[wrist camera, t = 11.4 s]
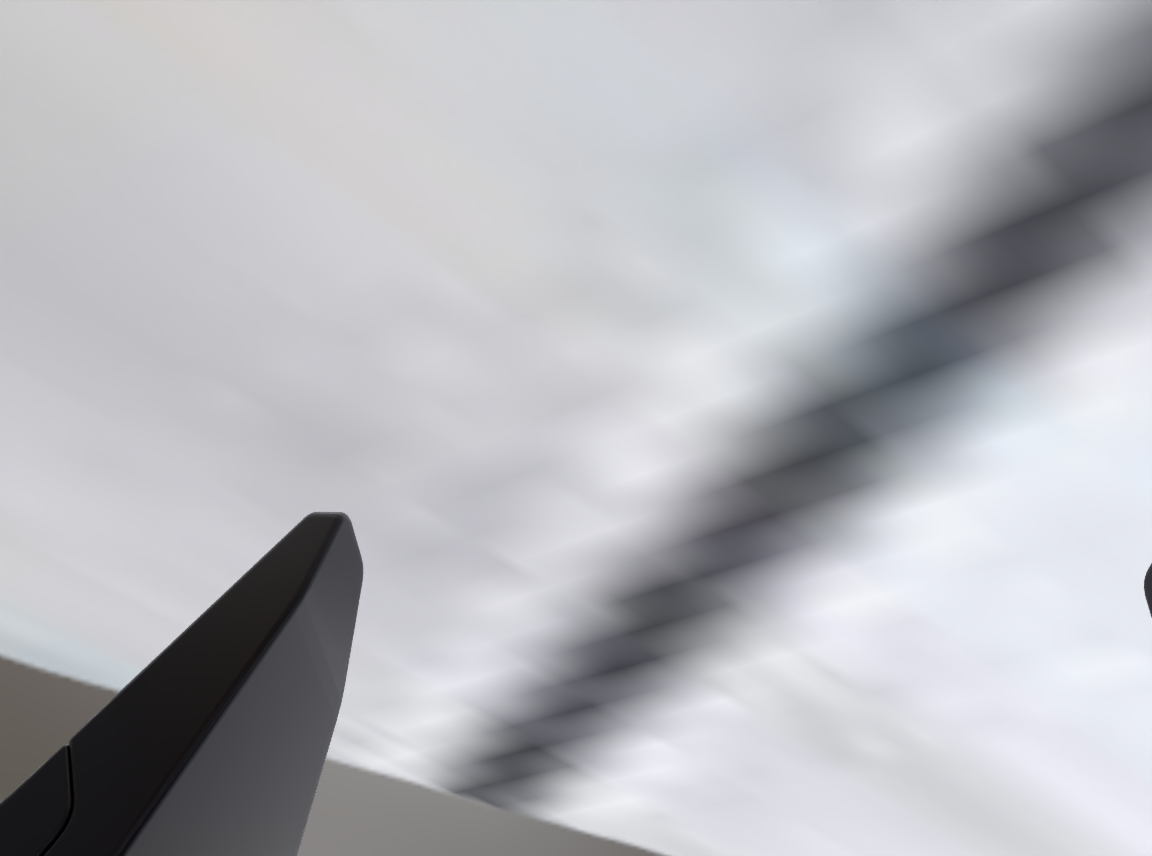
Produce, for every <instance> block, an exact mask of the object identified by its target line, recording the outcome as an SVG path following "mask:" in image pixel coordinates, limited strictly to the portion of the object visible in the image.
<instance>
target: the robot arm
mask: <svg viewBox="0 0 1152 856" xmlns="http://www.w3.org/2000/svg"><path fill="white" fill-rule="evenodd" d="M362 581H363V562H362V558H361V554H360V551H359V547H358V544H357V540H356V537H355V533H354V530H353V526H352V523H351V520H350V518H349V517H348V515H346V514H345V513H342V512H314V513H311V514H309V515H307V516H306V517H305V518H304V519H303V520H302V521H301V522H300V523H298V524H297V525H296V526H295V527H294V528H293V529H292V530H291V531H290V532H289V533H288V534H287V535H286V536H285V537H284V538H283V539H281V540H280V541H279V542H278V543H277V544H276V545H275V546H274V547H273V548H272V549H271V550H270V551H269V552H268V553H267V554H266V555H264V556H263V557H262V558H261V559H260V560H259V561H258V562H257V563H256V564H255V565H254V566H253V567H252V568H251V569H250V570H249V571H247V572H246V573H245V574H244V575H243V576H242V577H241V578H240V579H239V580H238V581H237V582H236V583H235V584H234V585H233V586H232V587H231V588H229V589H228V590H227V591H226V592H225V593H224V594H223V595H222V596H221V597H220V598H219V599H218V600H217V601H216V602H215V603H214V604H212V605H211V606H210V607H209V608H208V609H207V610H206V611H205V612H204V613H203V614H202V615H201V616H200V617H199V618H198V619H197V620H195V621H194V622H193V623H192V624H191V625H190V626H189V627H188V628H187V629H186V630H185V631H184V632H183V633H182V634H181V635H180V636H178V637H177V638H176V639H175V640H174V641H173V642H172V643H171V644H170V645H169V646H168V647H167V648H166V649H165V650H164V651H163V652H161V653H160V654H159V655H158V656H157V657H156V658H155V659H154V660H153V661H152V662H151V663H150V664H149V665H148V666H147V667H146V668H144V669H143V670H142V671H141V672H140V673H139V674H138V675H137V676H136V677H135V678H134V679H133V680H132V681H131V682H130V683H129V684H127V685H126V686H125V687H124V688H123V689H122V690H121V691H120V692H119V693H118V694H117V695H116V696H115V697H114V698H113V699H112V700H110V701H109V702H108V703H107V704H106V705H105V706H104V707H103V708H102V709H101V710H100V711H99V712H98V713H97V714H96V715H95V716H93V717H92V718H91V719H90V720H89V721H88V722H87V723H86V724H85V725H84V726H83V727H82V728H81V729H80V730H79V731H78V732H77V733H75V734H74V735H73V736H72V737H71V738H70V741H69V745H63V746H61V747H60V748H59V749H58V750H57V751H56V752H55V753H54V754H53V755H52V756H51V757H50V758H49V759H47V761H45V762H44V763H43V764H42V765H41V766H40V767H39V768H38V769H37V770H36V771H35V772H34V773H32V774H31V775H30V776H29V777H28V778H27V779H26V780H25V781H24V782H23V783H21V784H20V785H19V786H18V787H17V788H16V789H15V790H14V791H13V792H11V793H10V794H9V795H8V796H7V797H6V798H5V799H4V800H3V801H2V802H0V856H297V854H298V851H299V847H300V844H301V840H302V837H303V833H304V830H305V827H306V823H307V820H308V817H309V813H310V810H311V806H312V802H313V799H314V796H315V793H316V789H317V786H318V782H319V779H320V775H321V772H322V769H323V765H324V762H325V758H326V755H327V752H328V748H329V745H330V741H331V738H332V735H333V731H334V728H335V724H336V721H337V717H338V713H339V709H340V706H341V702H342V697H343V692H344V686H345V681H346V675H347V670H348V664H349V658H350V652H351V646H352V640H353V634H354V628H355V622H356V616H357V611H358V605H359V599H360V593H361V587H362ZM1144 590H1145V596H1146V600H1147V603H1148V607H1149V610H1150V614H1151V617H1152V564H1151V565H1150V567H1149V569H1148V571H1147V573H1146V576H1145V580H1144Z"/></svg>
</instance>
